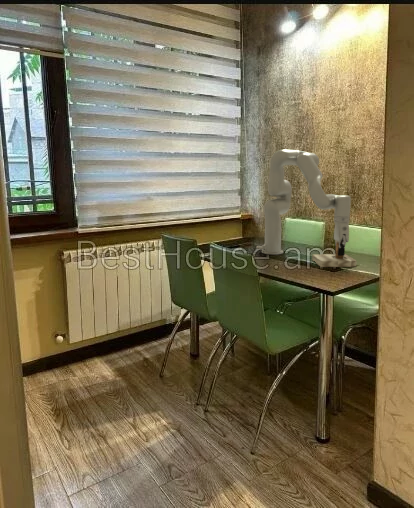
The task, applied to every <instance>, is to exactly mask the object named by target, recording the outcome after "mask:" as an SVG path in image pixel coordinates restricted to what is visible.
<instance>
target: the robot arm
mask: <svg viewBox="0 0 414 508" xmlns="http://www.w3.org/2000/svg"><path fill="white" fill-rule="evenodd" d="M319 165H320V158H319V156H318V155H317V153H314V152H308V151H303V150H298V149H289V148H288V149H283V148H282V149H279V150H277V151H274V153H273V154H272V155H271V157H270V160H269V174H268V184H267V185H268V186H267V193H268V195H269V196H271V197H276V198H271V199H268V200H267V201H266V202H265V203H264V205H263V214H264V244H262V245H257V246H256V250H259V251H261V253H262V254H265V255H275V256H276V255H283V254H284V250H283V249H282V218H281V215H285V214H286V213H287V212H288V211H289V210H290V208H291V200H292V191H293V190H292V189H293V187H292V184H291V182H290V181H289V180H287V179H285V173H286V172H285V168H284V167H285V166H297V168H298V169H299V170H300V172H301V174H302V176H303V177H304V179H305V180H306V182H307V184H308V192H309V195H310V196H309V197H311V200H312V201H313V203H314V205H315V206H316V207H317V208H318V209H320V210H324V211H325V210H329V209H330V210H331V209H334V212H333V213H334V215H333V216H334V217H333V218H334V219H333V223H334V229H333V230H334V231H333V240H334V243H335V244H334V254H336V242H335V240H336V241H338V242H339V248H338V256H344V254H345V253H346V252H345V248H346V245H347V243H349V241H350V238H349V237H350V224H349V223H350V217H351V216H350V215H351V205H352V204H351V203H352V199H351V196H350V195H345V194H344V195H343V194H339V195H338V194H333V193H329V194H327V193H326V192H325V191H324V189H323V187H322V185H321V182H322V179H323V175H324V174H323V173H322V171H321V170H320V169H319ZM341 241H343V242H341ZM341 243H342V244H341Z"/></svg>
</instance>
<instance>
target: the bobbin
mask: <svg viewBox="0 0 414 508" xmlns="http://www.w3.org/2000/svg"><path fill="white" fill-rule="evenodd" d="M335 242H336V254H335V253H334V254H335V257H334V259H345V258H343V256H338V248H339V242H338V241H336V240H335V239H334V243H335ZM341 242H343V241H341ZM341 244H342V243H341Z"/></svg>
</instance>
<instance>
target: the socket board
mask: <svg viewBox="0 0 414 508" xmlns="http://www.w3.org/2000/svg"><path fill="white" fill-rule="evenodd" d="M311 255H312V257H311V260H312V261H313V262H314V261H315V262H316V265H318V266H319V267H321V268H336V267H337V268H339V267H340V268H341V267H343V268H346V267H348V268H349V267H352V268H353V267H357V263H358V262H357V259H354V258H353V257H351V256H350V255H348V254H346V253H344V256H343V258H345V259H334V257H335V253H334V254H333V253H331V254H330V253H329V254H328V253H326V254H324V253H323V254H321V253H319V254H318V253H317V254H311ZM315 262H314V263H315Z"/></svg>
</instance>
